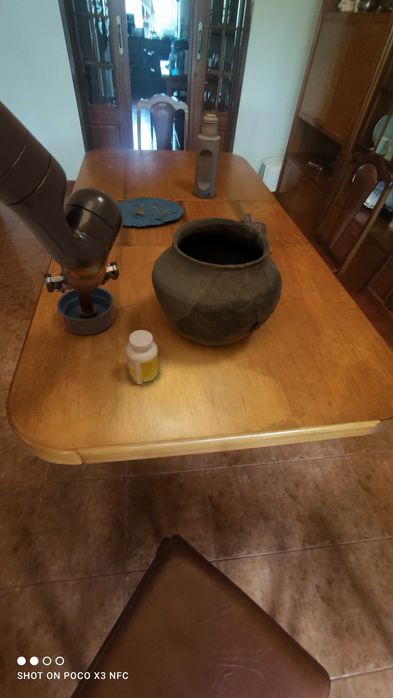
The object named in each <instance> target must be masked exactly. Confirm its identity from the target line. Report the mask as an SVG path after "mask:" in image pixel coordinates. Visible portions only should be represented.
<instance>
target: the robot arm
mask: <svg viewBox="0 0 393 698" xmlns="http://www.w3.org/2000/svg"><path fill="white" fill-rule="evenodd" d="M67 187H68V177H67V173H66V171H65V169H64V167H63V166H62V165H61V164H60V162H59V161H58V160H57V159H56V157H55V156H53V154H52V153H51V152H50V151H48V149H47V148H46V147H45V146H44V145H43V144H42V142H40V140H38V138H37V137H36V136H35V135H34V134H33V133H32V132H31V131H30V130H29V129H28V128H27V127H26V125H25V124H23V122H22V121H21V120H20V119H19V118H18V117H17V116H16V115H15V114H14V113H13V112H12V111H11V110H10V109H9V108H8V107H7V106H6V105H5V104H4V103H3V101H2V100H0V203H1V204H3V206H5V207H6V208H8V209H9V210H10V211H11V212H13V214H14V215H16V216H17V217H18V219H19V220H20V221H21V222H22V223H23V224H24V225H25V226H26V228H27V229H28V230H29V231H30V232H31V234H32V235H33V237H35V239H36V240H37V241H38V242H39V244H40V245H41V247H42V248H43V249H44V250H45V252H46V253H47V254H48V255H49V257H51V259H52V260H53V261H54V262H55V263H57V265H59V266H60V270H61V272H60V273H59V275H57V276H54V274H52V273H51V272H50V273H48V272H47V273H44V274H43V281H44V284H45V286H46V291H47V293H48V294H49V293H50V294H52V293H54V292H55V290H56V291H57V293H61V294H65V293H66V291H70V290H72V289H75V290H78V291H83V292H87V291H91V290H94V289H96V288H97V287H100V286H105V285H106V283H109V282H110V279H111V280H112V281H117V280H118V279H119V277H120V271H119V267H118V264H117V261H111V262H109V257H110V253H111V251H112V249H113V248H114V245H115V243H116V241H117V238H118V237H119V235H120V231H121V230H122V227H123V225H122V224H123V218H122V213H121V211H120V208H119V206H118V205H117V203H118V202H116V201H115V199H114V198H113V197H112V196H111V195H110V194H108V193H107V192H106V191H104V190H102V189H100V188H97V187H91V186H83V187H81V188H78V189H76V190H74V191H73V192H72V193H71V194H70V195H69V196H68V198H67V200H66V202H65V198H66V193H67ZM108 262H109V264H108Z"/></svg>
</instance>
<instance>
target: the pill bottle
mask: <svg viewBox="0 0 393 698" xmlns="http://www.w3.org/2000/svg"><path fill="white" fill-rule="evenodd" d="M125 353H126V360H127V361H126V362H127V367H128V373H129V377H130V379H131V380H132V381H133V382H134V383H136V384H138V385H149V384H152V383H153V382H155V381H156V380H157V378H158V376H159V373H160V371H159V369H160V368H159V350H158V345H157V343H156V342H155V341H154V339H153V334H152V333H151V332H150V331H148V330H145V329H138V330H135V331H132V332H131V333H130V334H129V337H128V344H127V345H126V349H125Z"/></svg>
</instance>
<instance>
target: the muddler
mask: <svg viewBox="0 0 393 698" xmlns="http://www.w3.org/2000/svg"><path fill="white" fill-rule="evenodd" d="M77 294H78V298H79V302H80V307H79V309H78V313H79V317H80V319H88V318H92V317H96V316H98V315H99V313H98V308H97V306H96V305H94V304H93V302H92V297H91V293H90V291H87V292H83V291H78V290H77Z"/></svg>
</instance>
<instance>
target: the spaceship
mask: <svg viewBox="0 0 393 698" xmlns="http://www.w3.org/2000/svg"><path fill="white" fill-rule="evenodd" d="M252 215H253V214H252V213H251V212H250V213H249V212H247V213H243V214H242V215H241V219H242V223H244V224H247V225H250V226H252V227H254V228H256V229H258V230H259V231H260V232H261V233H263V234H264V235H265V236H266V235H267V233H268V227H267V224H265V222H264V221H261V220H260V219H259V218H254V219H252V217H253V216H252ZM266 237H267V236H266ZM269 246H270V252H269V255H273V249H272V246H271V245H270V244H269Z"/></svg>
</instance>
